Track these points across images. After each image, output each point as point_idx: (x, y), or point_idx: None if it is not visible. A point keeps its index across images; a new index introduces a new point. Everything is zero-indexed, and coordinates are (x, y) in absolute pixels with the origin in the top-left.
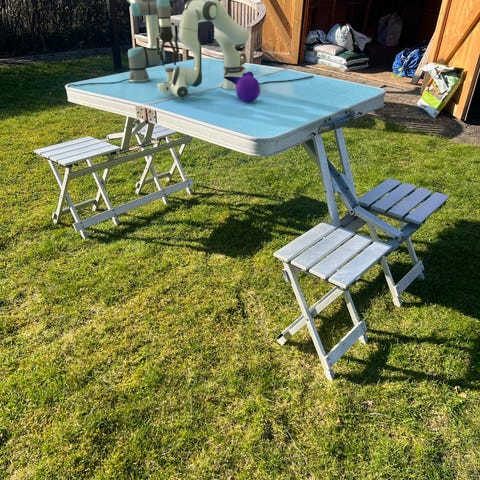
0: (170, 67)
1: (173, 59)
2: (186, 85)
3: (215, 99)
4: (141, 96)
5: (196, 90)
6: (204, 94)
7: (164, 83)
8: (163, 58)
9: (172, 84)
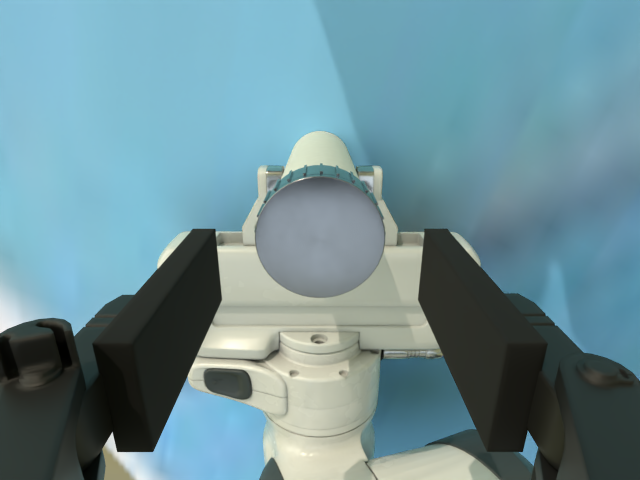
0: (351, 208)
1: (450, 279)
2: (420, 356)
3: (528, 438)
4: (51, 130)
5: (568, 122)
6: (544, 293)
7: (209, 392)
8: (179, 387)
9: (275, 431)
